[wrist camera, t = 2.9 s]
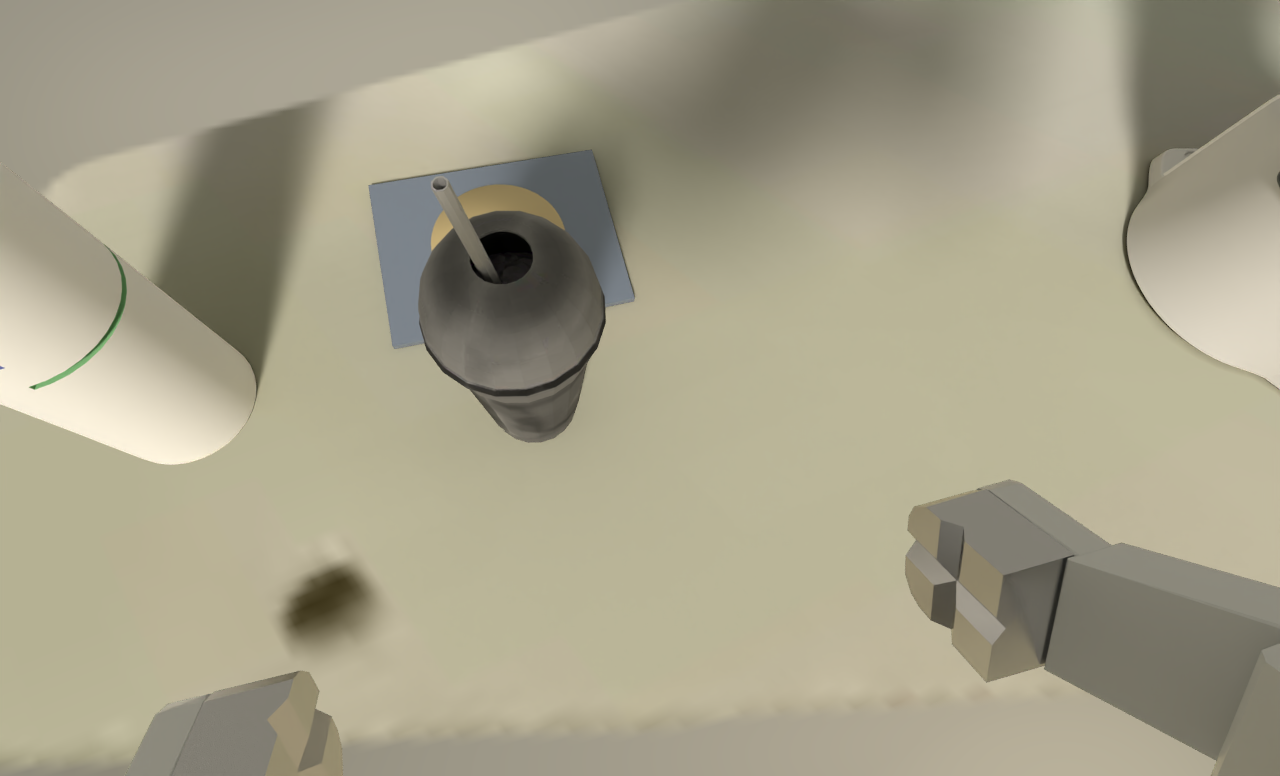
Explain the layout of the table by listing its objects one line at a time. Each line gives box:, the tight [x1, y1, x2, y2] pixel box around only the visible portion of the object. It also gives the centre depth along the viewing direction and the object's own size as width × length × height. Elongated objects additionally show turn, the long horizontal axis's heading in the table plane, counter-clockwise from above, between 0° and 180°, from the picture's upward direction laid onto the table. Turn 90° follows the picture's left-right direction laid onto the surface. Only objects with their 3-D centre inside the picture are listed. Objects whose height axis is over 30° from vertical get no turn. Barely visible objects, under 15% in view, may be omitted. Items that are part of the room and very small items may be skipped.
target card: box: [369, 150, 635, 349], centre depth 40 cm, size 14×11×1 cm
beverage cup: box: [418, 176, 606, 442], centre depth 27 cm, size 7×7×20 cm
